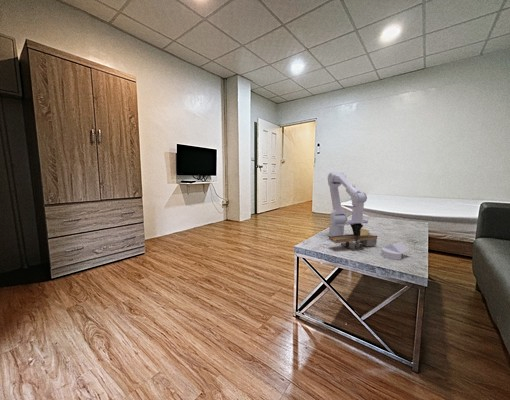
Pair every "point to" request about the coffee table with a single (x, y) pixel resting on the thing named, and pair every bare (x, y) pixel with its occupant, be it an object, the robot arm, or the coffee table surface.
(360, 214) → the robot arm
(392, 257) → the wedge on round base
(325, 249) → the coffee table surface
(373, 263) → the coffee table surface
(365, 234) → the rider
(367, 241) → the beam
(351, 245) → the grey metal bracket
